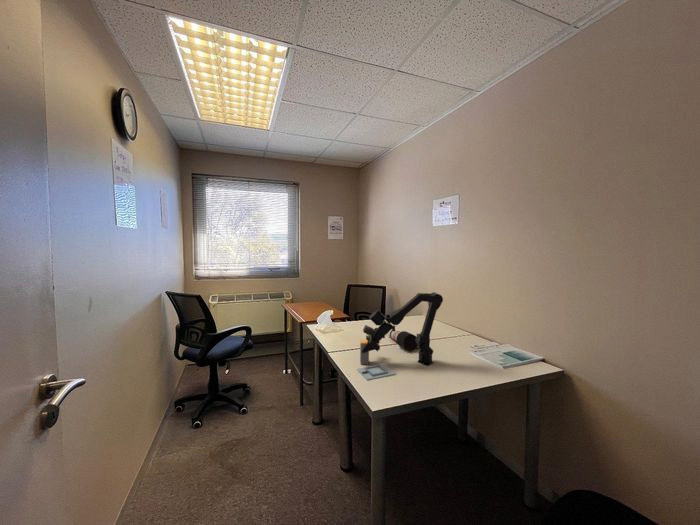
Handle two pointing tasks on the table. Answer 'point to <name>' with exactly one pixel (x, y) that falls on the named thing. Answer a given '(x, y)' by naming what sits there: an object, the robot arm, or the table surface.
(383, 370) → the charging dock
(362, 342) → the brick
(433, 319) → the robot arm
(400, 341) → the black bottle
